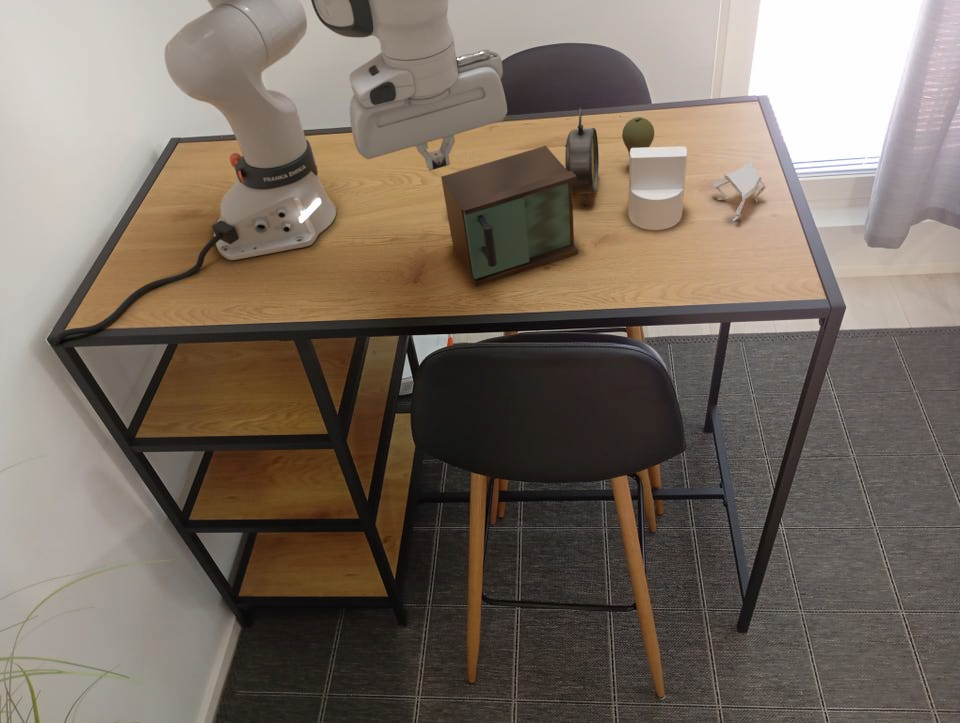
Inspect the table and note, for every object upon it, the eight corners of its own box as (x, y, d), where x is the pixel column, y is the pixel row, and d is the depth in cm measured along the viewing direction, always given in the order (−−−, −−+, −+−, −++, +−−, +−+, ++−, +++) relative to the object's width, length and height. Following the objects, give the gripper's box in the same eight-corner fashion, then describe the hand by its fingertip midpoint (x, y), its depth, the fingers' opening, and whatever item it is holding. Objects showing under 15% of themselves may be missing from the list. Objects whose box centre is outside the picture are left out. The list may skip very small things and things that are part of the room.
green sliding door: (483, 294, 123) (474, 230, 115) (473, 276, 127) (463, 212, 118) (539, 276, 125) (534, 211, 116) (527, 259, 128) (522, 194, 120)
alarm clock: (594, 210, 138) (593, 126, 126) (563, 210, 139) (559, 126, 127) (600, 176, 145) (599, 93, 134) (570, 175, 146) (567, 93, 135)
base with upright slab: (628, 230, 133) (629, 168, 124) (628, 199, 139) (629, 138, 130) (683, 229, 131) (688, 166, 123) (681, 198, 137) (686, 136, 129)
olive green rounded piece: (645, 180, 143) (647, 129, 135) (616, 173, 145) (617, 124, 138) (657, 164, 146) (660, 114, 139) (629, 158, 148) (630, 109, 141)
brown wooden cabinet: (476, 287, 127) (464, 210, 116) (453, 247, 135) (440, 172, 124) (578, 254, 130) (576, 176, 119) (550, 217, 138) (545, 141, 127)
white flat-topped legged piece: (708, 187, 139) (711, 162, 135) (758, 184, 138) (762, 159, 134) (717, 227, 130) (721, 202, 127) (770, 225, 129) (775, 200, 126)
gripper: (491, 36, 101) (501, 134, 110) (336, 78, 97) (361, 175, 107) (509, 55, 96) (518, 155, 106) (347, 99, 93) (372, 199, 103)
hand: (438, 166), depth 106 cm, fingers closed
